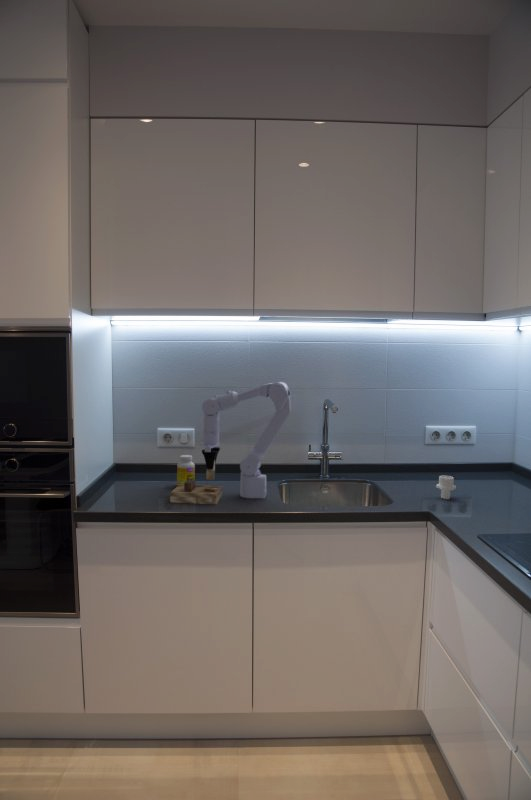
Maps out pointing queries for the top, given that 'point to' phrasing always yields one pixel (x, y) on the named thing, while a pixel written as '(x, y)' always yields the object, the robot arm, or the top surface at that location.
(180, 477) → the supplement bottle
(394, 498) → the top surface
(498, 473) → the top surface
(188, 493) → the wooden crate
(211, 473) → the pin
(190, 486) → the lid
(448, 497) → the pipe fitting
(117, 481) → the top surface
